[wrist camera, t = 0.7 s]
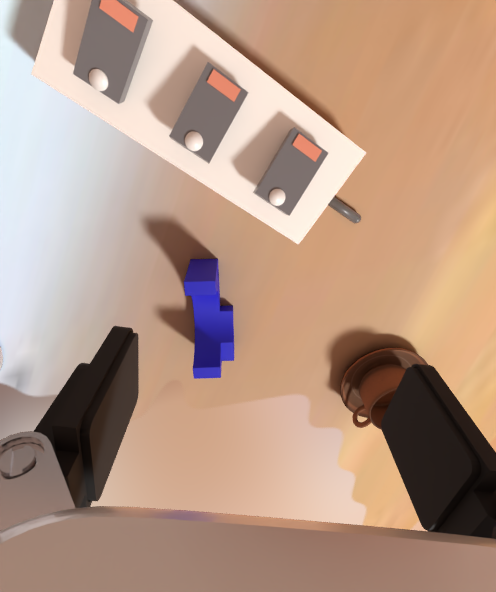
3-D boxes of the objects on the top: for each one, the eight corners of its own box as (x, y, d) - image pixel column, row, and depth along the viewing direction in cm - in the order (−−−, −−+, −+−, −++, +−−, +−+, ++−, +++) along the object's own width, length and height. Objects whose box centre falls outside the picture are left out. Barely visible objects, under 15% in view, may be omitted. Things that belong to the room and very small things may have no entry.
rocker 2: (208, 163, 28) (209, 162, 27) (170, 138, 27) (168, 135, 26) (246, 96, 27) (248, 92, 26) (207, 67, 26) (207, 61, 25)
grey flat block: (286, 214, 31) (290, 215, 29) (252, 192, 30) (255, 192, 28) (323, 154, 30) (329, 152, 28) (290, 129, 29) (294, 126, 27)
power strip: (328, 256, 38) (337, 269, 35) (52, 78, 29) (31, 74, 26) (390, 178, 34) (406, 184, 31) (95, -52, 26) (77, -76, 23)
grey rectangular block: (124, 101, 27) (118, 104, 26) (80, 72, 26) (71, 73, 25) (153, 20, 24) (147, 19, 23) (104, -17, 23) (95, -20, 22)
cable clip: (234, 345, 43) (234, 377, 38) (198, 346, 43) (193, 378, 38) (231, 258, 38) (230, 280, 33) (190, 258, 38) (183, 281, 32)
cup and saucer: (390, 416, 51) (409, 452, 45) (321, 394, 48) (332, 430, 43) (441, 357, 46) (470, 389, 40) (367, 329, 43) (386, 359, 38)
